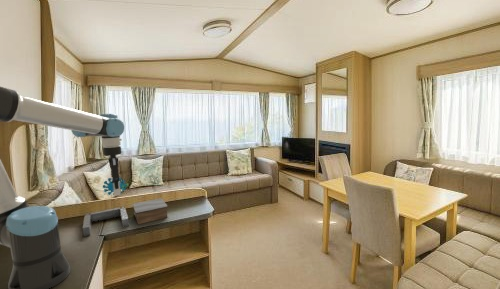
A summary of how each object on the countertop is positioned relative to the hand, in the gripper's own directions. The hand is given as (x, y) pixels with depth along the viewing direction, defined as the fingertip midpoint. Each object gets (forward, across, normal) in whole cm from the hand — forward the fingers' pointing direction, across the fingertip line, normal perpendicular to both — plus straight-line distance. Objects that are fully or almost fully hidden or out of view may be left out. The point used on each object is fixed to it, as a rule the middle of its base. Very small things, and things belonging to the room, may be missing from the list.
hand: (116, 192), depth 118 cm
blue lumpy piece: (+1, 0, 0) cm, 1 cm away
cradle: (+15, +2, +6) cm, 17 cm away
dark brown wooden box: (+16, 0, -14) cm, 21 cm away
